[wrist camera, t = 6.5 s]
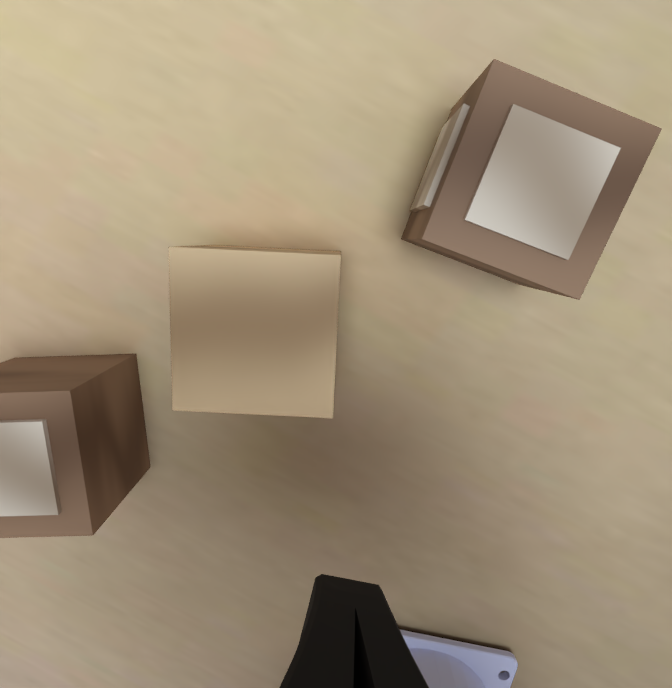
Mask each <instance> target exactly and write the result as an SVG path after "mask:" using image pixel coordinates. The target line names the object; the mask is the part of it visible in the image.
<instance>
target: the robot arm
mask: <svg viewBox="0 0 672 688" xmlns="http://www.w3.org/2000/svg"><path fill="white" fill-rule="evenodd" d="M517 667H518V663H517V660H516V658H515V656H514V654H512V653H511V652H509V651H504V650H499V649H495V648H490V647H485V646H480V645H475V644H470V643H465V642H460V641H455V640H450V639H445V638H440V637H435V636H430V635H425V634H420V633H415V632H410V631H405V630H400V629H399V627H398V625H397V623H396V621H395V619H394V616H393V614H392V612H391V610H390V608H389V605H388V603H387V601H386V598H385V596H384V594H383V591H382V590H381V588H380V586H379V585H376V584H371V583H366V582H360V581H355V580H350V579H345V578H340V577H334V576H329V575H324V574H321V575H320V576H318V577H316V578H315V582H314V586H313V590H312V594H311V598H310V602H309V606H308V610H307V614H306V618H305V622H304V626H303V630H302V634H301V638H300V642H299V645H298V648H297V650H296V653H295V655H294V658H293V660H292V662H291V664H290V666H289V669H288V671H287V673H286V675H285V677H284V679H283V681H282V684H281V686H280V688H510V687H511V684H512V681H513V679H514V676H515V673H516V670H517ZM501 671H505V672H503V673H500V672H501Z"/></svg>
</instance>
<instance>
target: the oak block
mask: <svg viewBox="0 0 672 688" xmlns="http://www.w3.org/2000/svg"><path fill="white" fill-rule="evenodd" d="M168 248H169V289H170V330H171V370H172V411H193V412H214V413H234V414H255V415H276V416H296V417H317V418H333V407H334V386H335V366H336V345H337V325H338V304H339V284H340V263H341V251H323V250H303V249H282V248H262V247H241V246H220V245H203V246H178V247H168Z"/></svg>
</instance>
